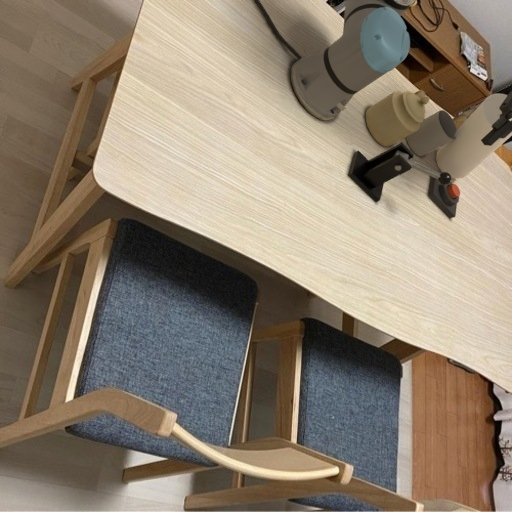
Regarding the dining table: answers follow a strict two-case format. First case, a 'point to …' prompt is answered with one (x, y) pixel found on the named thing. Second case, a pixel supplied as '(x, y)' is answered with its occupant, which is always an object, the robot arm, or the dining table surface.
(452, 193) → the button
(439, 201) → the button block
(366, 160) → the bracket
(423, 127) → the cup
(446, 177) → the lever
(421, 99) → the sugar bowl
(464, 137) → the tall pillar cylinder
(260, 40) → the dining table surface
